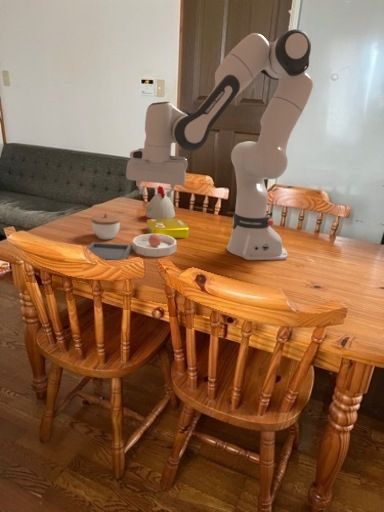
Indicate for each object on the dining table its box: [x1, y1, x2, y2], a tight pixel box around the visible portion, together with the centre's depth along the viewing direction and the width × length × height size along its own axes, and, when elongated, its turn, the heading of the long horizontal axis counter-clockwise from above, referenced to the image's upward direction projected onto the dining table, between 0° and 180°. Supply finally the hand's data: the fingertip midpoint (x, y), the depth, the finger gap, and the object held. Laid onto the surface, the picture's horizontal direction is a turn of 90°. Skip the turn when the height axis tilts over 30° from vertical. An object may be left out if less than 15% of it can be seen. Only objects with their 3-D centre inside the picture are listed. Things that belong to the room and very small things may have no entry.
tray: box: [87, 241, 133, 260], centre depth 119 cm, size 14×14×2 cm
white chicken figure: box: [145, 185, 176, 221], centre depth 161 cm, size 14×14×15 cm
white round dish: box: [132, 233, 177, 258], centre depth 128 cm, size 16×16×3 cm
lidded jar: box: [90, 213, 121, 241], centre depth 135 cm, size 11×11×9 cm
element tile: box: [146, 217, 190, 240], centre depth 145 cm, size 15×15×5 cm
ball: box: [149, 234, 161, 247], centre depth 127 cm, size 5×5×5 cm
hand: (155, 195), depth 121 cm, fingers open, 8 cm apart
